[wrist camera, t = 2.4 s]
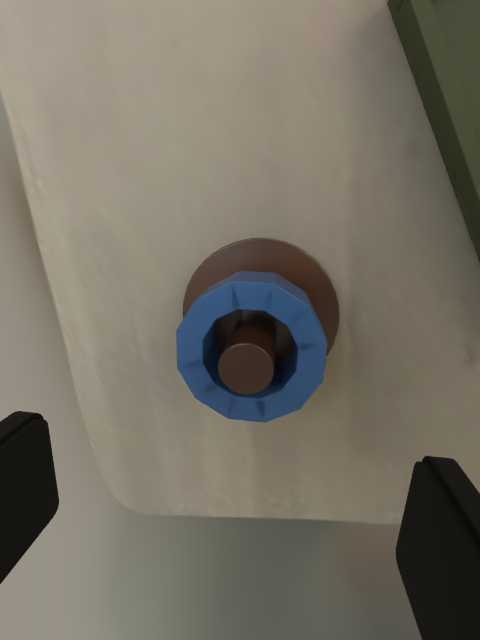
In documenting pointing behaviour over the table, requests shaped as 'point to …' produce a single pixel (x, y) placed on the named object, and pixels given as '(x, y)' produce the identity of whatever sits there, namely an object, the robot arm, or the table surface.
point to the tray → (448, 87)
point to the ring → (288, 379)
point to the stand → (258, 326)
